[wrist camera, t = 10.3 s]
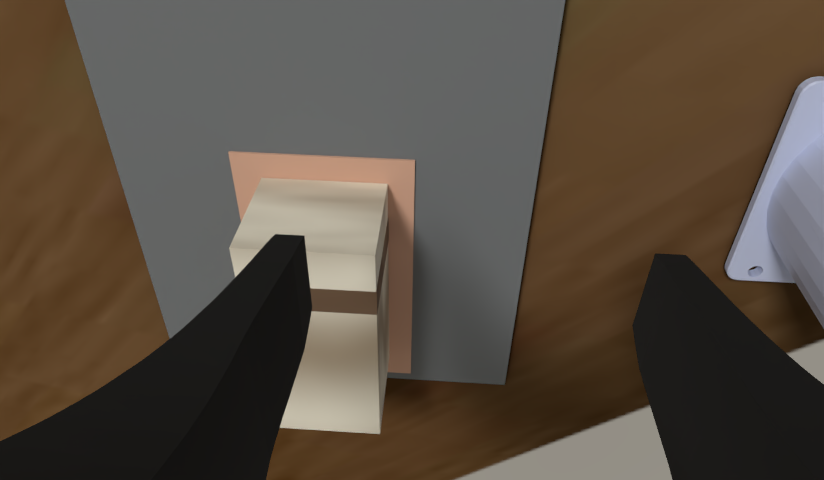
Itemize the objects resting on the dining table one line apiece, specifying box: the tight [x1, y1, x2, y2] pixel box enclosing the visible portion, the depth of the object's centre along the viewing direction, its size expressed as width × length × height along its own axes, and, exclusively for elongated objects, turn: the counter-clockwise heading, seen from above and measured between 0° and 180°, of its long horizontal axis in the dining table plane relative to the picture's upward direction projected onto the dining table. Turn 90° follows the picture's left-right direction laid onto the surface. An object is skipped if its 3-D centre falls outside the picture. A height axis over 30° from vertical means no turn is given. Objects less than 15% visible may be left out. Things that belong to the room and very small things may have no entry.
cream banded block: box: [229, 178, 389, 434], centre depth 24 cm, size 9×4×4 cm, turn 0°
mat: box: [65, 0, 565, 385], centre depth 22 cm, size 15×24×1 cm, turn 179°
